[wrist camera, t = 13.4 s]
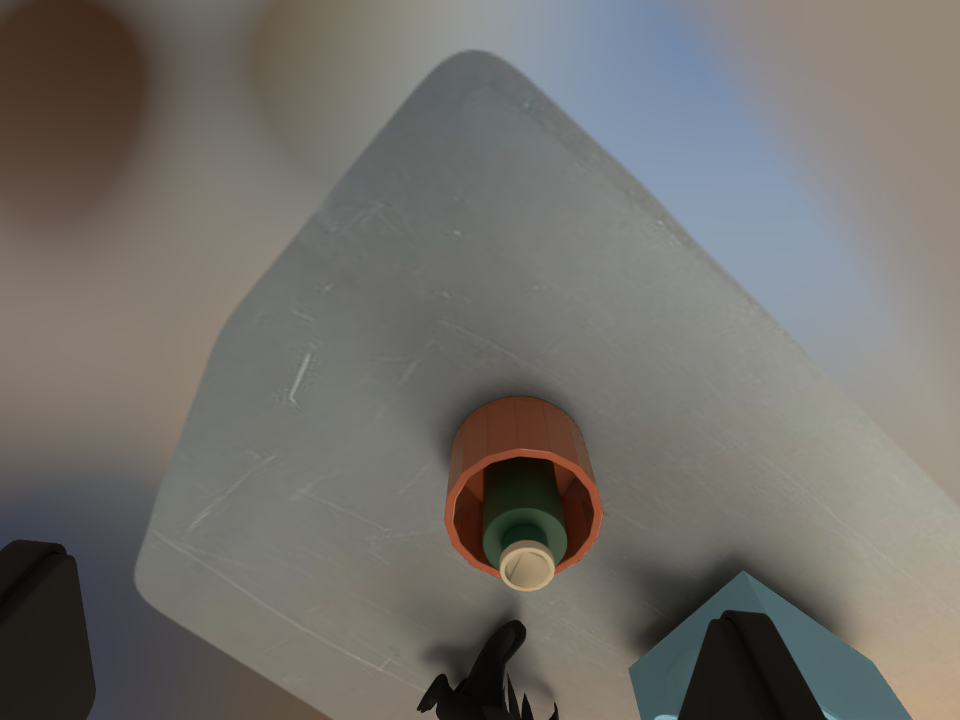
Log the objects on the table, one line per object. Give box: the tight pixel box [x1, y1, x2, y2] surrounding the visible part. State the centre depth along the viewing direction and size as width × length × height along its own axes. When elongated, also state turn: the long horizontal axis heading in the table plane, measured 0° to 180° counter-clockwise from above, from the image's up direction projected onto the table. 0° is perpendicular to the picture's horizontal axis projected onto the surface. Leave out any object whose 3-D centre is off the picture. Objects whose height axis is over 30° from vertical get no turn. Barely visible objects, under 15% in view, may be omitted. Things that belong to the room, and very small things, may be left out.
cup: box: [444, 397, 603, 578], centre depth 38 cm, size 9×9×6 cm
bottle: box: [483, 456, 567, 591], centre depth 35 cm, size 4×4×10 cm
